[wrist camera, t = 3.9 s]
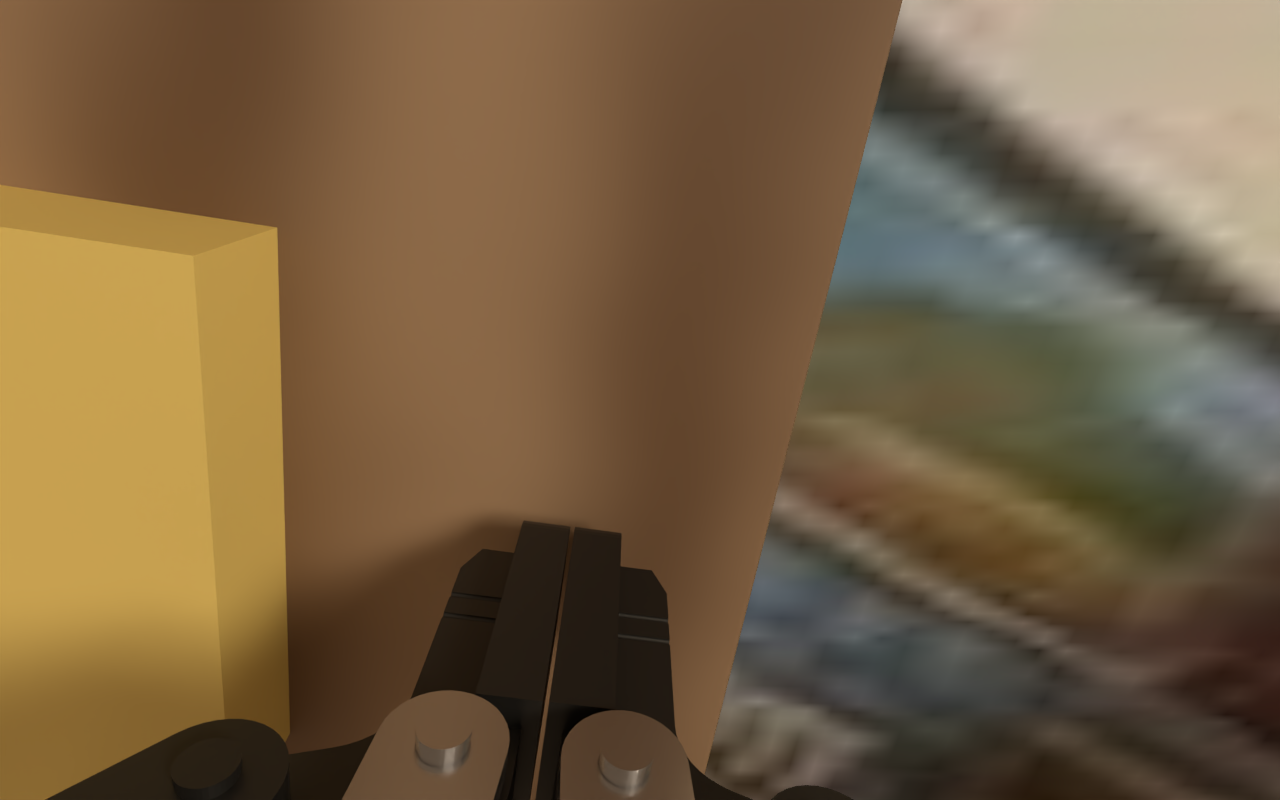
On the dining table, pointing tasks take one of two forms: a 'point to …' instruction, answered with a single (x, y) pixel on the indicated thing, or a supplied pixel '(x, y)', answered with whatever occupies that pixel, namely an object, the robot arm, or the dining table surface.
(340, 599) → the deck
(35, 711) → the tile
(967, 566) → the dining table surface
